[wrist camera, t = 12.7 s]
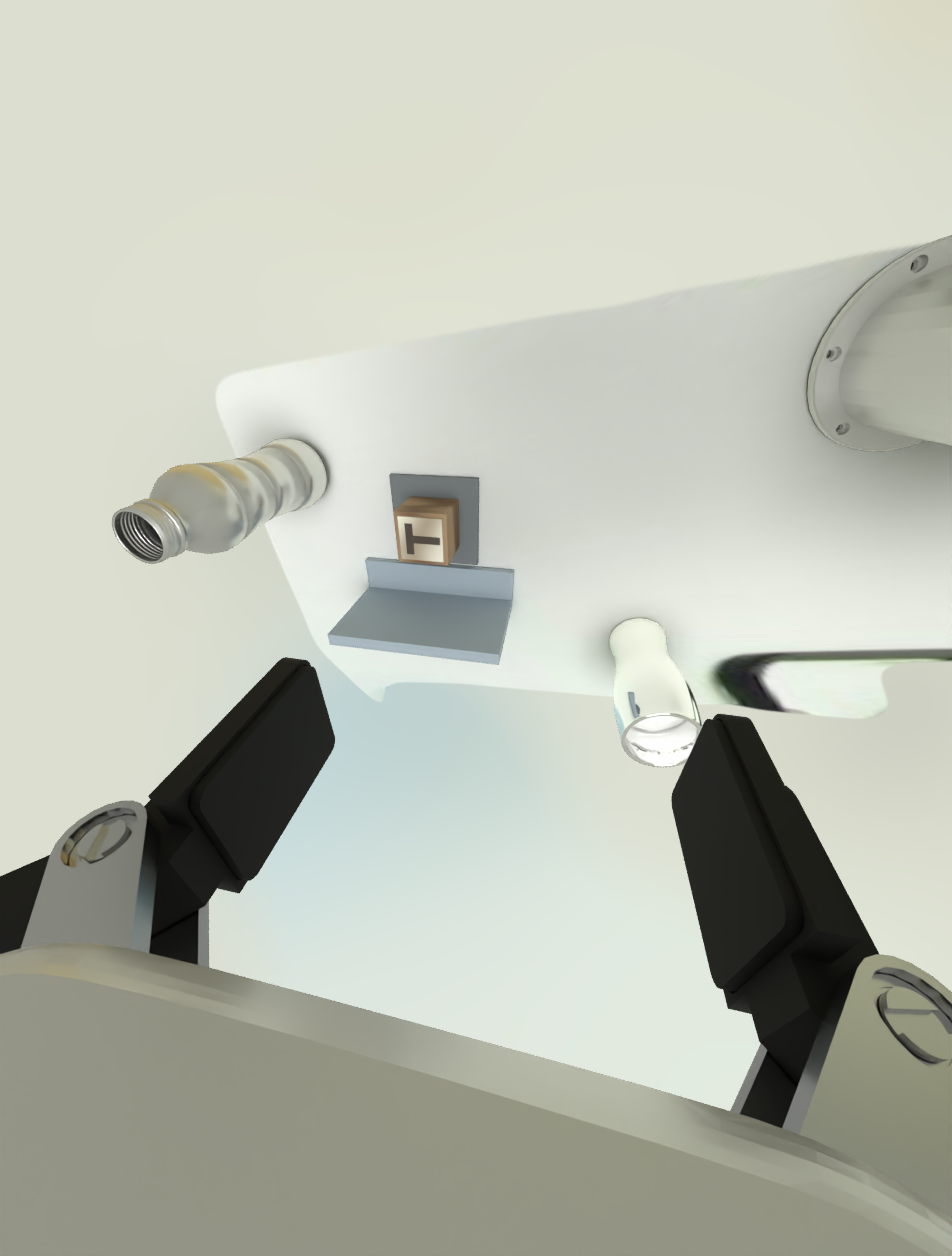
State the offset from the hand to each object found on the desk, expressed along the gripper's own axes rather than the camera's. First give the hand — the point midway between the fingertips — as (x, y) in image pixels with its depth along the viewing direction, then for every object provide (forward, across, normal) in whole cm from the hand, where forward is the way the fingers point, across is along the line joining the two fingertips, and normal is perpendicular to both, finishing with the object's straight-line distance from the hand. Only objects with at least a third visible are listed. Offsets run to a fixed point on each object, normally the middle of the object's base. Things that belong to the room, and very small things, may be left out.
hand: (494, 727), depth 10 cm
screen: (+33, +11, +14) cm, 38 cm away
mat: (+33, +11, +6) cm, 36 cm away
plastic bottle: (+33, +25, +2) cm, 42 cm away
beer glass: (+34, -12, +19) cm, 40 cm away
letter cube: (+33, +11, +6) cm, 35 cm away
